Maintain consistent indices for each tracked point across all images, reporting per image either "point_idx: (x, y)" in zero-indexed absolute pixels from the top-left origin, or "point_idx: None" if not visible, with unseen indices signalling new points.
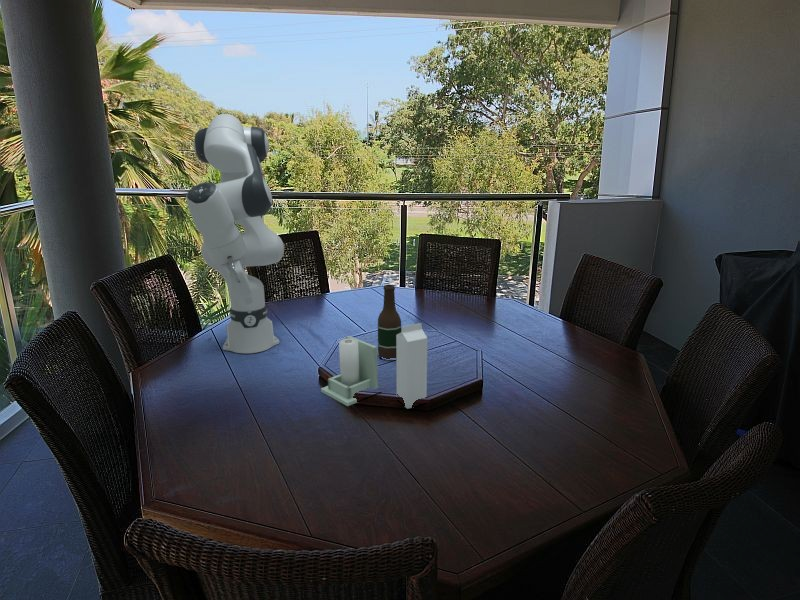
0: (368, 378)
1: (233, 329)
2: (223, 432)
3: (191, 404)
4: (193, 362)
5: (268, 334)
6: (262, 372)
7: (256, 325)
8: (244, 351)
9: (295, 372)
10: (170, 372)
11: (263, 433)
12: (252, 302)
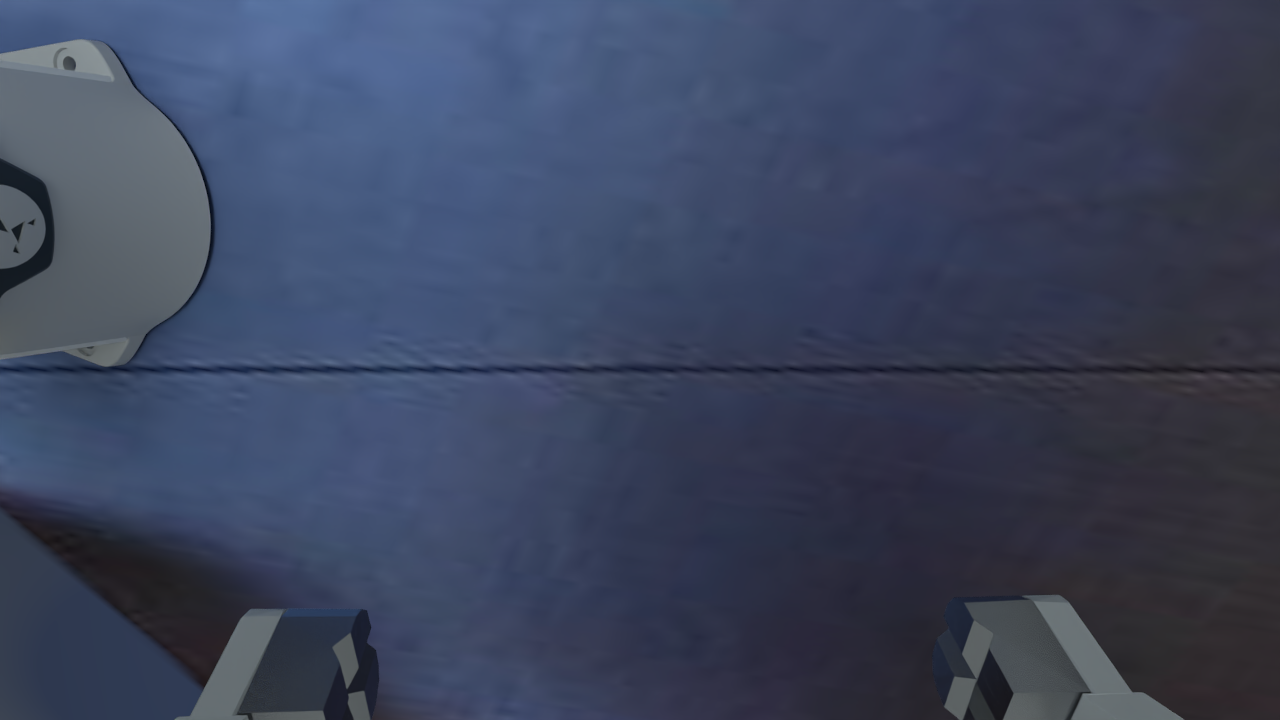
0: None
1: (33, 326)
2: (1092, 535)
3: (715, 608)
4: (240, 521)
5: (75, 105)
6: (477, 222)
7: (37, 183)
8: (193, 268)
9: (546, 36)
10: None
11: (1221, 366)
12: (1057, 597)
